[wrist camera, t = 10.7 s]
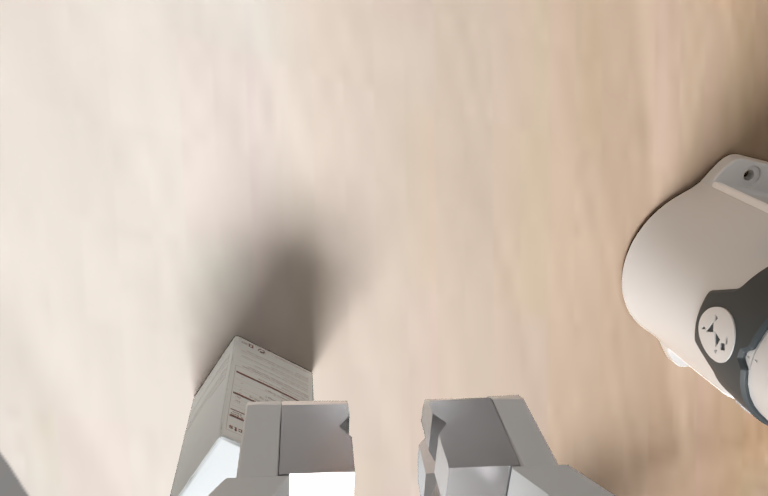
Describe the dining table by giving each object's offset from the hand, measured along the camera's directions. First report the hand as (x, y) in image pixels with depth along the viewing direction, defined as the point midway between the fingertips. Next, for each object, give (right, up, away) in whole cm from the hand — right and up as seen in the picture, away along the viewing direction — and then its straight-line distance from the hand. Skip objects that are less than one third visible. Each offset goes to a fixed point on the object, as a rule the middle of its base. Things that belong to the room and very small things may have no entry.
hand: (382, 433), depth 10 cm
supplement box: (-11, -8, +43) cm, 45 cm away
